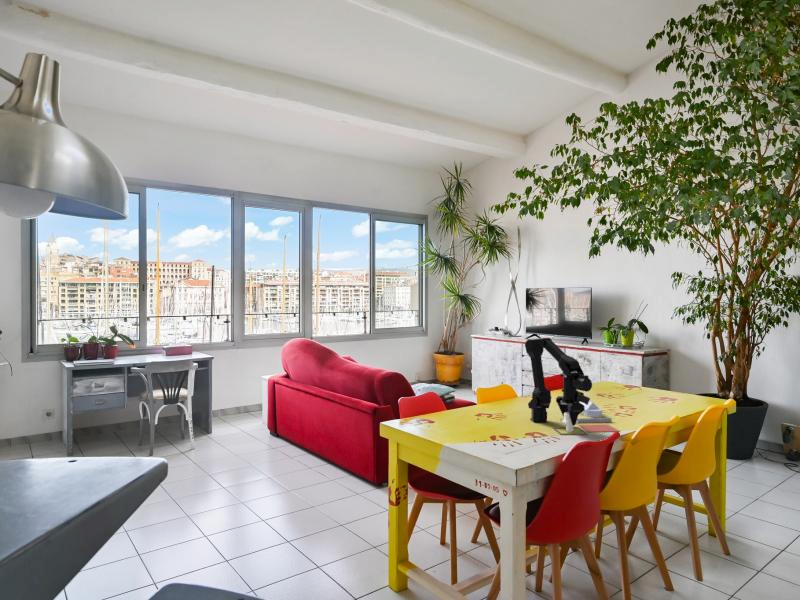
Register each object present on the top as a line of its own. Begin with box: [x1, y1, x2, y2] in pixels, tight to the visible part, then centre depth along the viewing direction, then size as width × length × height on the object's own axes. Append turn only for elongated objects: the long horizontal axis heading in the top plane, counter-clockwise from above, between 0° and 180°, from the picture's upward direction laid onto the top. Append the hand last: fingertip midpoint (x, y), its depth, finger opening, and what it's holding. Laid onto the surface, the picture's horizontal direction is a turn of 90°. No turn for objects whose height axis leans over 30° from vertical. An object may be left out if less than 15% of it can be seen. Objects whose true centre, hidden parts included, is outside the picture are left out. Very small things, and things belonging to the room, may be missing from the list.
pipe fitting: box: [561, 412, 579, 433], centre depth 234 cm, size 6×7×8 cm
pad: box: [578, 423, 621, 433], centre depth 239 cm, size 14×12×1 cm
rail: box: [560, 417, 612, 424], centre depth 251 cm, size 24×2×2 cm, turn 93°
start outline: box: [551, 426, 589, 436], centre depth 234 cm, size 12×11×1 cm
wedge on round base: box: [579, 401, 603, 418], centre depth 266 cm, size 9×7×13 cm
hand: (569, 422), depth 234 cm, fingers open, 9 cm apart
